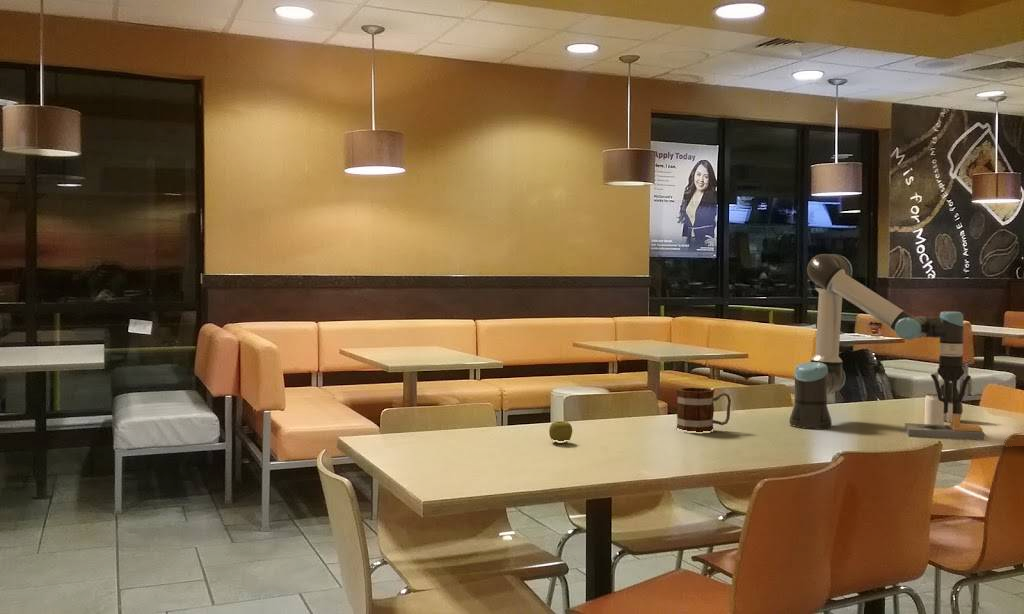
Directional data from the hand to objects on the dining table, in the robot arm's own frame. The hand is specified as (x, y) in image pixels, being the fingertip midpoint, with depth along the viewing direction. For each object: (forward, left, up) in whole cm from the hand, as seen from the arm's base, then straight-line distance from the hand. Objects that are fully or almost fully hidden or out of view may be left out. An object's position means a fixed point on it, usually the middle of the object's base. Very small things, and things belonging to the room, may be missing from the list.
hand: (949, 421), depth 324 cm
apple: (-127, -59, -5) cm, 140 cm away
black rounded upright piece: (+4, +35, -5) cm, 36 cm away
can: (-3, +18, -5) cm, 19 cm away
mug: (-84, -19, -5) cm, 86 cm away
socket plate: (-2, 0, -5) cm, 5 cm away
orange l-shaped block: (+5, 0, -2) cm, 6 cm away
